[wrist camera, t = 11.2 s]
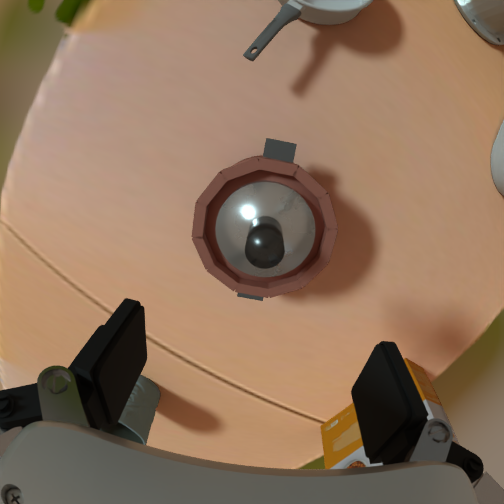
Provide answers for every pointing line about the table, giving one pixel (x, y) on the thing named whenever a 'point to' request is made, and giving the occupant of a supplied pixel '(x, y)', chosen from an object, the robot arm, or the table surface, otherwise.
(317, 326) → the table surface
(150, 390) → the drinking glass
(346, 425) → the cereal box
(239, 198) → the lid
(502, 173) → the toilet tissue
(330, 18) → the saucepan
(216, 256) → the pot
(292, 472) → the robot arm
